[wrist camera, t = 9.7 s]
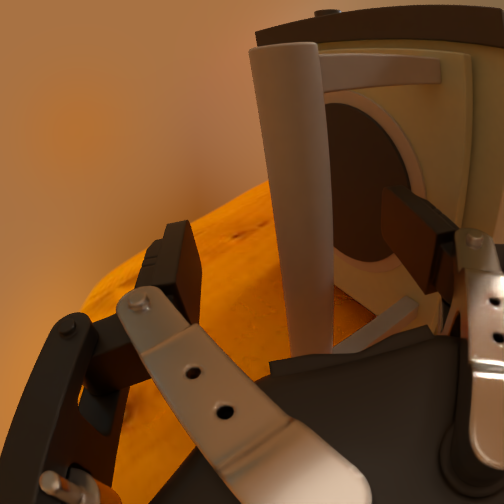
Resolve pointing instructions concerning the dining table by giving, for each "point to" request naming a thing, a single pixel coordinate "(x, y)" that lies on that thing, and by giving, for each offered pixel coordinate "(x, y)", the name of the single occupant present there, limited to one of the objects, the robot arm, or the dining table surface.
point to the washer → (442, 39)
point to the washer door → (357, 175)
